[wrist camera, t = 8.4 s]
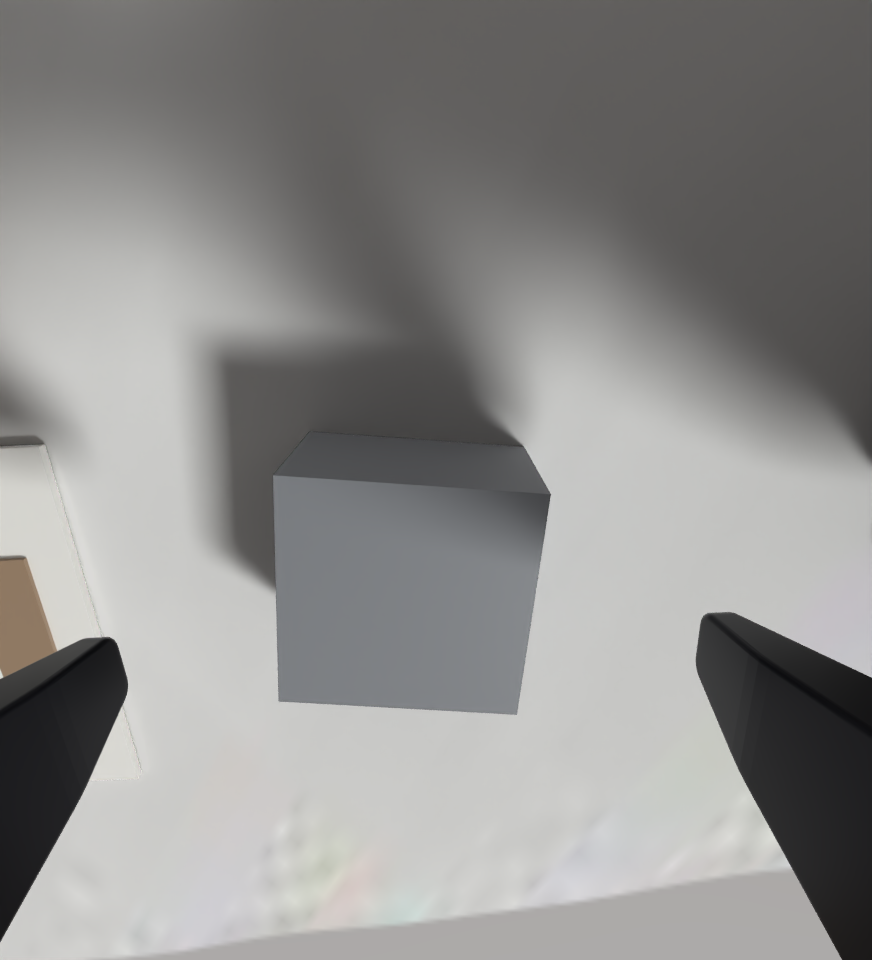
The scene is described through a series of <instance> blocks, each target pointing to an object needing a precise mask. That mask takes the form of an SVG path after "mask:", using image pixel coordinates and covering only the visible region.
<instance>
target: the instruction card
mask: <svg viewBox="0 0 872 960" xmlns="http://www.w3.org/2000/svg"><path fill="white" fill-rule="evenodd" d="M97 637H102V635H101V632H100V629H99V625H98V622H97V618H96V615H95V612H94V608H93V605H92V602H91V598H90V595H89V591H88V588H87V585H86V581H85V578H84V574H83V571H82V568H81V564H80V561H79V558H78V554H77V551H76V547H75V544H74V541H73V537H72V534H71V530H70V527H69V524H68V520H67V517H66V514H65V510H64V507H63V503H62V500H61V497H60V493H59V490H58V486H57V483H56V480H55V476H54V473H53V470H52V466H51V463H50V459H49V456H48V453H47V449H46V446H45V444H41V445H19V446H0V679H1V678H3V677H5V676H8V675H10V674H12V673H14V672H16V671H18V670H20V669H22V668H24V667H26V666H28V665H30V664H32V663H34V662H36V661H38V660H40V659H42V658H44V657H46V656H48V655H50V654H52V653H54V652H56V651H58V650H61V649H63V648H65V647H67V646H69V645H71V644H73V643H75V642H77V641H79V640H81V639H84V638H97ZM141 774H142V771H141V767H140V764H139V761H138V757H137V754H136V750H135V747H134V744H133V740H132V737H131V733H130V730H129V727H128V723H127V720H126V717H125V713H124V710H123V706H122V707H121V710H120V712H119V714H118V716H117V719H116V721H115V723H114V725H113V728H112V730H111V732H110V734H109V737H108V739H107V741H106V744H105V746H104V748H103V750H102V753H101V755H100V757H99V759H98V762H97V764H96V766H95V768H94V771H93V773H92V775H91V777H90V779H89V781H101V780H127V779H139V777H140V775H141Z"/></svg>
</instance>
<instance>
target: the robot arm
mask: <svg viewBox="0 0 872 960" xmlns="http://www.w3.org/2000/svg"><path fill="white" fill-rule="evenodd" d="M696 668H697V672H698V675H699V678H700V680H701V683H702V685H703V687H704V690H705V692H706V695H707V697H708V699H709V702H710V704H711V706H712V709H713V711H714V714H715V716H716V718H717V721H718V723H719V725H720V728H721V730H722V733H723V735H724V737H725V740H726V742H727V744H728V747H729V749H730V752H731V754H732V756H733V758H734V761H735V763H736V765H737V767H738V769H739V771H740V773H741V775H742V777H743V779H744V781H745V783H746V785H747V787H748V789H749V790H750V792H751V794H752V796H753V798H754V800H755V801H756V803H757V805H758V807H759V809H760V811H761V812H762V814H763V816H764V818H765V820H766V822H767V823H768V825H769V827H770V829H771V831H772V833H773V834H774V836H775V838H776V840H777V842H778V843H779V845H780V847H781V849H782V851H783V853H784V854H785V856H786V858H787V860H788V862H789V864H790V865H791V867H792V869H793V871H794V873H795V875H796V876H797V878H798V880H799V882H800V884H801V885H802V887H803V889H804V891H805V893H806V895H807V897H808V898H809V900H810V902H811V904H812V906H813V907H814V909H815V911H816V913H817V915H818V917H819V918H820V920H821V922H822V924H823V926H824V927H825V929H826V931H827V933H828V935H829V937H830V938H831V940H832V942H833V944H834V946H835V948H836V950H837V951H838V953H839V955H840V957H841V958H842V960H872V678H871V677H869V676H867V675H865V674H863V673H860V672H858V671H856V670H854V669H852V668H850V667H848V666H846V665H844V664H841V663H839V662H837V661H835V660H833V659H831V658H829V657H827V656H824V655H822V654H820V653H818V652H816V651H814V650H812V649H810V648H807V647H805V646H803V645H801V644H799V643H797V642H795V641H793V640H791V639H788V638H786V637H784V636H782V635H780V634H778V633H776V632H774V631H771V630H769V629H767V628H765V627H763V626H761V625H759V624H757V623H754V622H752V621H750V620H748V619H746V618H744V617H742V616H740V615H738V614H735V613H732V612H722V613H707V614H706V615H704V616H703V618H702V620H701V624H700V631H699V638H698V646H697V653H696ZM127 691H128V680H127V676H126V672H125V669H124V665H123V662H122V658H121V655H120V651H119V648H118V645H117V643H116V642H115V640H114V639H112V638H110V637H97V638H84V639H81V640H79V641H77V642H75V643H73V644H71V645H69V646H67V647H65V648H63V649H61V650H58V651H56V652H54V653H52V654H50V655H48V656H46V657H44V658H42V659H40V660H38V661H36V662H34V663H32V664H30V665H28V666H26V667H24V668H22V669H20V670H18V671H16V672H14V673H12V674H10V675H8V676H5V677H3V678H1V679H0V942H1V940H2V938H3V936H4V935H5V933H6V931H7V929H8V927H9V926H10V924H11V922H12V920H13V918H14V917H15V915H16V913H17V911H18V909H19V908H20V906H21V904H22V902H23V901H24V899H25V897H26V895H27V893H28V892H29V890H30V888H31V886H32V884H33V883H34V881H35V879H36V877H37V875H38V874H39V872H40V870H41V868H42V867H43V865H44V863H45V861H46V859H47V858H48V856H49V854H50V852H51V850H52V849H53V847H54V845H55V843H56V841H57V840H58V838H59V836H60V834H61V833H62V831H63V829H64V827H65V825H66V824H67V822H68V820H69V818H70V816H71V815H72V813H73V811H74V809H75V807H76V805H77V803H78V802H79V800H80V798H81V796H82V794H83V792H84V790H85V788H86V786H87V784H88V781H89V779H90V777H91V775H92V773H93V771H94V768H95V766H96V764H97V762H98V759H99V757H100V755H101V753H102V750H103V748H104V746H105V744H106V741H107V739H108V737H109V734H110V732H111V730H112V728H113V725H114V723H115V721H116V719H117V716H118V714H119V712H120V710H121V707H122V705H123V703H124V701H125V698H126V695H127Z"/></svg>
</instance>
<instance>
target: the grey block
mask: <svg viewBox="0 0 872 960" xmlns="http://www.w3.org/2000/svg"><path fill="white" fill-rule="evenodd" d="M550 496H551V494H550V492H549V490H548V488H547V487H546V485H545V483H544V481H543V480H542V478H541V476H540V474H539V472H538V471H537V469H536V467H535V465H534V464H533V462H532V460H531V458H530V456H529V455H528V453H527V451H526V449H525V448H524V447H522V446H507V445H493V444H479V443H465V442H451V441H437V440H423V439H409V438H395V437H381V436H367V435H353V434H338V433H324V432H309V433H308V434H307V435H306V436H305V438H304V439H303V440H302V441H301V442H300V444H299V445H298V446H297V447H296V448H295V450H294V451H293V452H292V453H291V454H290V456H289V457H288V458H287V459H286V460H285V462H284V463H283V464H282V465H281V466H280V468H279V469H278V470H277V471H276V472H275V473H274V475H273V497H274V536H275V575H276V614H277V653H278V692H279V701H281V702H299V703H317V704H335V705H353V706H370V707H388V708H406V709H424V710H442V711H460V712H478V713H496V714H514V715H517V710H518V703H519V697H520V690H521V684H522V677H523V671H524V664H525V658H526V651H527V645H528V639H529V632H530V626H531V619H532V613H533V606H534V600H535V593H536V587H537V580H538V574H539V567H540V561H541V554H542V548H543V541H544V535H545V528H546V522H547V515H548V509H549V502H550Z"/></svg>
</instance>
